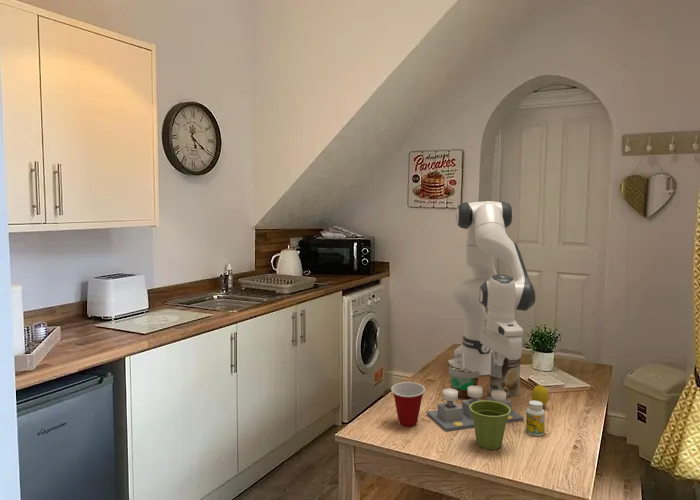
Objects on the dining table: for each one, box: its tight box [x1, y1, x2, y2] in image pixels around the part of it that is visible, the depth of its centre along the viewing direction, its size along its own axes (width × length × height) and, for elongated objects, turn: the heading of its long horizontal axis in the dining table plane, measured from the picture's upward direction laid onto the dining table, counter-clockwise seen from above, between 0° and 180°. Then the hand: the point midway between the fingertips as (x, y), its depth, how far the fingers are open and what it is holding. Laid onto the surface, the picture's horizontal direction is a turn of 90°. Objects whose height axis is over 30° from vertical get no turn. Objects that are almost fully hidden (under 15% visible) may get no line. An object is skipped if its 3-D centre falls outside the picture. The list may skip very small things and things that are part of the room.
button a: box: [490, 390, 507, 402], centre depth 185 cm, size 5×5×6 cm
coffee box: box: [489, 352, 521, 399], centre depth 202 cm, size 9×6×16 cm
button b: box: [467, 385, 483, 403], centre depth 182 cm, size 5×5×6 cm
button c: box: [442, 387, 459, 408], centre depth 180 cm, size 5×5×6 cm
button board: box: [426, 396, 524, 432], centre depth 183 cm, size 14×28×5 cm, turn 107°
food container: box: [448, 364, 481, 400], centre depth 202 cm, size 12×6×10 cm, turn 45°
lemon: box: [531, 384, 549, 406], centre depth 191 cm, size 6×6×8 cm
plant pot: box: [469, 400, 512, 450], centre depth 163 cm, size 12×12×11 cm
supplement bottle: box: [525, 400, 546, 437], centre depth 171 cm, size 5×5×10 cm
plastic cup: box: [390, 381, 426, 428], centre depth 177 cm, size 11×11×12 cm
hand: (498, 364), depth 184 cm, fingers closed
